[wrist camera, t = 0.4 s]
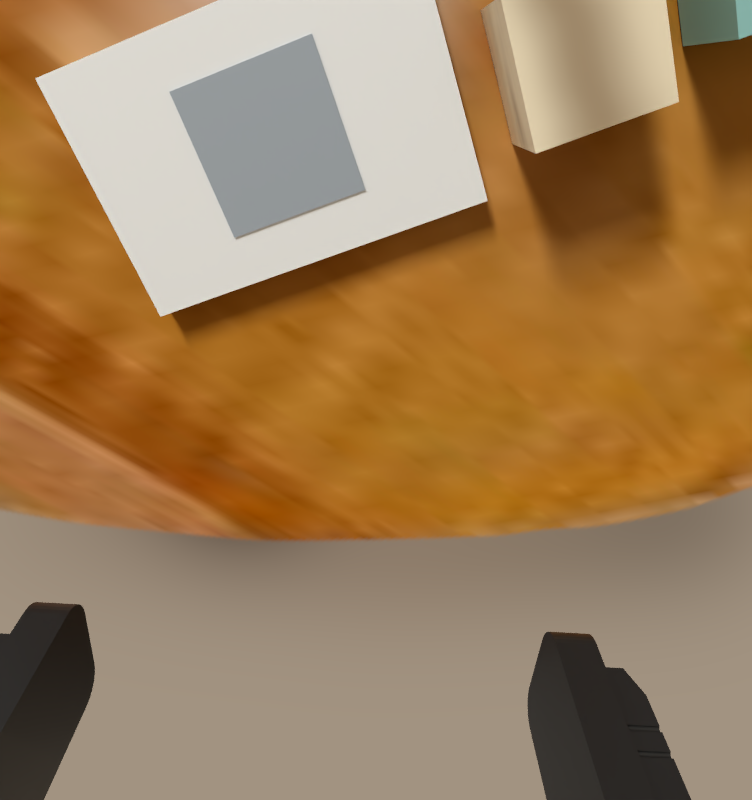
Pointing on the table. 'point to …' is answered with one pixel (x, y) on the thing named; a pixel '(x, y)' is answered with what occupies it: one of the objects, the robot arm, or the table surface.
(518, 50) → the birch block
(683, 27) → the teal cube
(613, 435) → the table surface
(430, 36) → the board
